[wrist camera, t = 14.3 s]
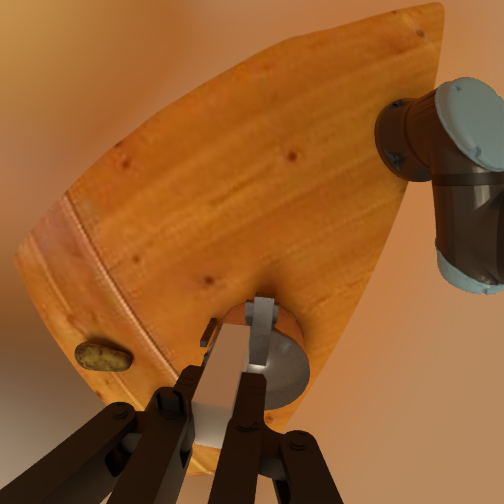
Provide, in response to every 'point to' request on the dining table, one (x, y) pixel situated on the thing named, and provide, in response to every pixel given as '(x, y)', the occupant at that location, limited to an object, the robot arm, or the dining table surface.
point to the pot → (244, 316)
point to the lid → (274, 356)
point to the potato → (101, 358)
